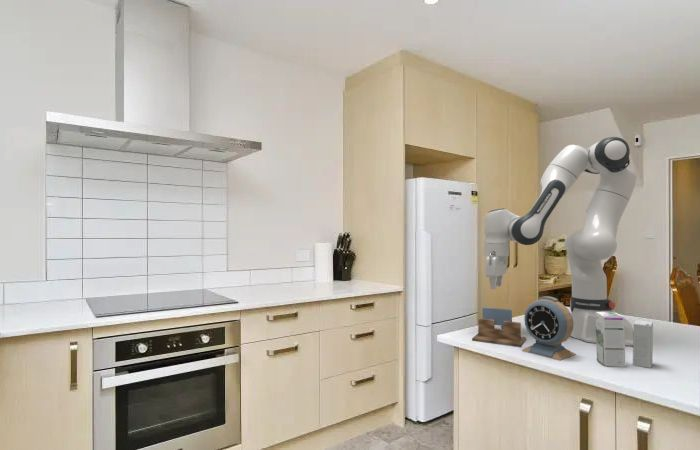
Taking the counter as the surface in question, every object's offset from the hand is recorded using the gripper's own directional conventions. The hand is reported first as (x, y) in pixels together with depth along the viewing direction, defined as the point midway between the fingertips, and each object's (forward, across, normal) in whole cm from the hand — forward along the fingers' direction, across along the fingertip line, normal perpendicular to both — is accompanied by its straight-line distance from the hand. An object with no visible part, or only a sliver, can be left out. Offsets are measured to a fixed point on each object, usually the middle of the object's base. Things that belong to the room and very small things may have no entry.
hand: (496, 287), depth 156 cm
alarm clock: (+17, -18, -20) cm, 32 cm away
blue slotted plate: (+17, 0, 0) cm, 17 cm away
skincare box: (+17, -17, -44) cm, 50 cm away
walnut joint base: (+17, -11, -4) cm, 20 cm away
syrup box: (+17, -21, -36) cm, 45 cm away
